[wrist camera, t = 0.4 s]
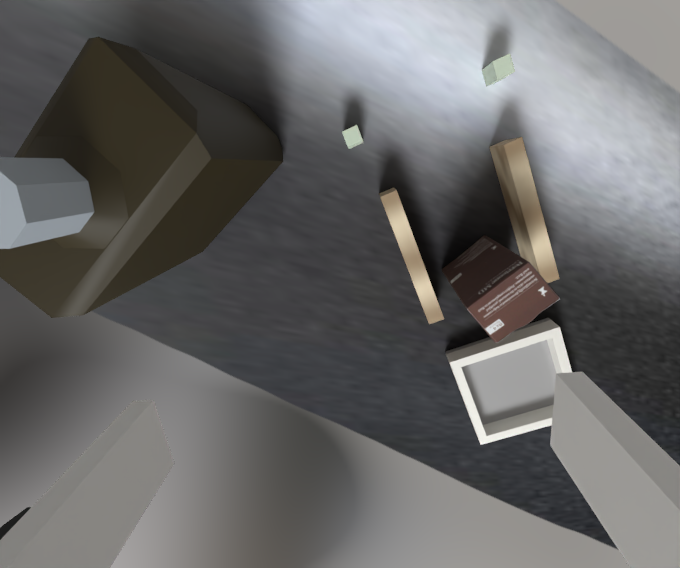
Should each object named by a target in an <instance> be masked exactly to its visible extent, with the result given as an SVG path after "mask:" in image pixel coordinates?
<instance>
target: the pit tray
mask: <svg viewBox="0 0 680 568" xmlns="http://www.w3.org/2000/svg"><path fill="white" fill-rule="evenodd" d="M445 353H446V356H447V358H448V361H449V363H450V366H451V369H452V371H453V374H454V377H455V379H456V382H457V385H458V387H459V390H460V392H461V395H462V398H463V400H464V403H465V406H466V408H467V411H468V414H469V416H470V419H471V422H472V424H473V427H474V429H475V432H476V434H477V437H478V439H479V442H480V444H481V445H482V444H485V443H489V442H493V441H496V440H500V439H503V438H507V437H511V436H514V435H518V434H521V433H525V432H529V431H532V430H536V429H539V428H543V427H547V426H550V425H552V417H553V405H554V392H555V380H556V373H570V372H572V370H571V366H570V362H569V359H568V355H567V352H566V348H565V344H564V341H563V337H562V333H561V330H560V327H559V326H558V325H557V324H556V323H554V322H553V321H552V320H551V319H550V318H546V319H543V320H539V321H536V322H533V323H530V324H527V325H525V326H523V327H520V328H518V329H517V330H515V331H514V332H512V333H511V334H510V335H508V336H507V337H505V338H504V339H503V340H501V341H500V342H498V343H495V342H494V341H493V340H492V339H491V338H490V337H488V338H485V339H482V340H479V341H476V342H473V343H470V344H467V345H464V346H461V347H458V348H455V349H452V350H449V351H446V352H445Z"/></svg>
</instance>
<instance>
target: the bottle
mask: <svg viewBox="0 0 680 568" xmlns="http://www.w3.org/2000/svg"><path fill="white" fill-rule="evenodd" d="M282 162H283V152H282V147H281V145H280V142H279V140H278V137H277V135H276V134H275V133H274V132H273V131H272V130H271V129H270V128H269V127H268V126H267V125H266V124H265V123H264V122H263V121H262V120H261V119H260V118H259V117H258V116H257V115H256V114H255V113H254V112H253V111H252V110H251V109H250V108H249V107H248V106H247V105H246V104H244V103H242V102H240V101H238V100H236V99H234V98H232V97H230V96H228V95H226V94H224V93H222V92H220V91H218V90H216V89H214V88H212V87H210V86H208V85H206V84H205V83H203V82H201V81H199V80H197V79H195V78H193V77H191V76H189V75H187V74H185V73H183V72H181V71H179V70H177V69H175V68H173V67H171V66H169V65H167V64H165V63H163V62H161V61H159V60H157V59H155V58H153V57H151V56H149V55H147V54H145V53H143V52H141V51H139V50H137V49H135V48H132V47H129V46H125V45H122V44H119V43H116V42H113V41H109V40H106V39H103V38H100V37H96V38H90V39H88V41H87V42H86V44H85V46H84V47H83V49H82V50H81V52H80V54H79V55H78V57H77V58H76V60H75V61H74V63H73V65H72V66H71V68H70V69H69V71H68V73H67V74H66V76H65V77H64V79H63V81H62V82H61V84H60V85H59V87H58V89H57V90H56V92H55V93H54V95H53V97H52V98H51V100H50V101H49V103H48V105H47V106H46V108H45V109H44V111H43V112H42V114H41V116H40V117H39V119H38V120H37V122H36V124H35V125H34V127H33V128H32V130H31V132H30V133H29V135H28V136H27V138H26V140H25V141H24V143H23V144H22V146H21V148H20V149H19V151H18V152H17V154H16V156H15V157H14V158H10V157H0V277H1V278H2V279H3V280H5V281H6V282H7V283H8V284H10V285H11V286H12V287H14V288H15V289H16V290H17V291H19V292H20V293H21V294H22V295H24V296H25V297H26V298H28V299H29V300H30V301H31V302H32V303H34V304H35V305H36V306H37V307H39V308H40V309H41V310H43V311H44V312H45V313H46V314H47V315H49V316H50V317H51V318H55V317H68V316H81V315H84V314H86V313H88V312H90V311H92V310H94V309H96V308H98V307H100V306H101V305H103V304H105V303H107V302H109V301H111V300H113V299H115V298H116V297H118V296H120V295H122V294H124V293H126V292H128V291H130V290H131V289H133V288H135V287H137V286H139V285H141V284H143V283H145V282H146V281H148V280H150V279H152V278H154V277H156V276H158V275H160V274H161V273H163V272H165V271H167V270H169V269H171V268H173V267H175V266H176V265H178V264H180V263H182V262H184V261H186V260H188V259H190V258H191V257H193V256H195V255H197V254H199V253H201V252H203V251H204V249H205V248H206V247H207V246H208V245H209V244H210V243H211V242H212V241H213V239H214V238H215V237H216V236H217V235H218V234H219V233H220V232H221V230H222V229H223V228H224V227H225V226H226V225H227V224H228V223H229V221H230V220H231V219H232V218H233V217H234V216H235V215H236V214H237V212H238V211H239V210H240V209H241V208H242V207H243V206H244V205H245V203H246V202H247V201H248V200H249V199H250V198H251V197H252V196H253V195H254V193H255V192H256V191H257V190H258V189H259V188H260V187H261V186H262V184H263V183H264V182H265V181H266V180H267V179H268V178H269V177H270V175H271V174H272V173H273V172H274V171H275V170H276V169H277V168H278V166H279V165H280V164H281V163H282Z"/></svg>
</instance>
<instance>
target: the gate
mask: <svg viewBox="0 0 680 568" xmlns="http://www.w3.org/2000/svg"><path fill="white" fill-rule="evenodd" d="M482 72H483V76H484V79H485V83H486V87H487V86H489V85H491V84H493V83H496V82H498V81H500V80H502V79H504V78H505V77H507V76H509V75H510V74H512V73H514V72H515V70H514V66H513V62H512V58H511V54H508V55H505V56H503V57H501V58H499V59H497V60H495V61H493V62H491V63H490V64H489V65H488V66H486V67H485V68H484V69H483V70H482ZM342 134H343V136H344V139H345V141H346V144H347V146H348V148H349V149H351V148H353V147H355V146H357V145H360V144H362V143H363V140H362V137H361V134H360V132H359V129H358V126H357V125H355V126H353V127H351V128H349V129H347V130H345V131H343V132H342Z"/></svg>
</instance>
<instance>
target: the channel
mask: <svg viewBox="0 0 680 568" xmlns="http://www.w3.org/2000/svg"><path fill="white" fill-rule="evenodd" d="M489 148H490V151H491V155H492V158H493V162H494V165H495V169H496V172H497V176H498V179H499V183H500V186H501V189H502V193H503V196H504V200H505V203H506V207H507V210H508V214H509V217H510V220H511V224H512V227H513V231H514V234H515V238H516V241H517V245H518V248H519V252H520V255H521V257H522V258H524V259H525V260H527V261H529V262H530V263H531V264H532V266H533V267H534V268H535V269H536V270H537V272H538V273H539V274H540V275H541V276H542V277H543V279H544V280H545V281H546V282H547V283H549V282H552V281H555V280H558V279H559V275H558V271H557V268H556V264H555V260H554V256H553V252H552V249H551V245H550V241H549V237H548V233H547V230H546V226H545V222H544V218H543V214H542V211H541V207H540V203H539V199H538V195H537V192H536V188H535V184H534V180H533V177H532V173H531V169H530V165H529V161H528V158H527V154H526V150H525V146H524V142H523V139H522V137H520V138H514V139H508V140H504V141H502V142H500V143H497V144H495V145H492V146H490V147H489ZM379 195H380V198H381V200H382V203H383V206H384V208H385V211H386V213H387V216H388V219H389V221H390V224H391V226H392V229H393V232H394V234H395V237H396V240H397V242H398V245H399V247H400V250H401V253H402V255H403V258H404V260H405V263H406V266H407V268H408V271H409V273H410V276H411V279H412V281H413V284H414V286H415V289H416V292H417V294H418V297H419V299H420V302H421V305H422V307H423V310H424V312H425V315H426V317H427V320H428V322H429V324H431V323H434V322H437V321H440V320H443V319H444V317H443V315H442V312H441V309H440V306H439V304H438V301H437V298H436V296H435V293H434V290H433V287H432V285H431V282H430V279H429V277H428V274H427V271H426V269H425V266H424V263H423V260H422V258H421V255H420V252H419V250H418V247H417V244H416V241H415V239H414V236H413V233H412V231H411V228H410V225H409V222H408V220H407V217H406V214H405V212H404V209H403V206H402V203H401V201H400V198H399V195H398V193H397V190H396V189H395V188H391V189H389V190H387V191H384V192H382V193H380V194H379Z"/></svg>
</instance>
